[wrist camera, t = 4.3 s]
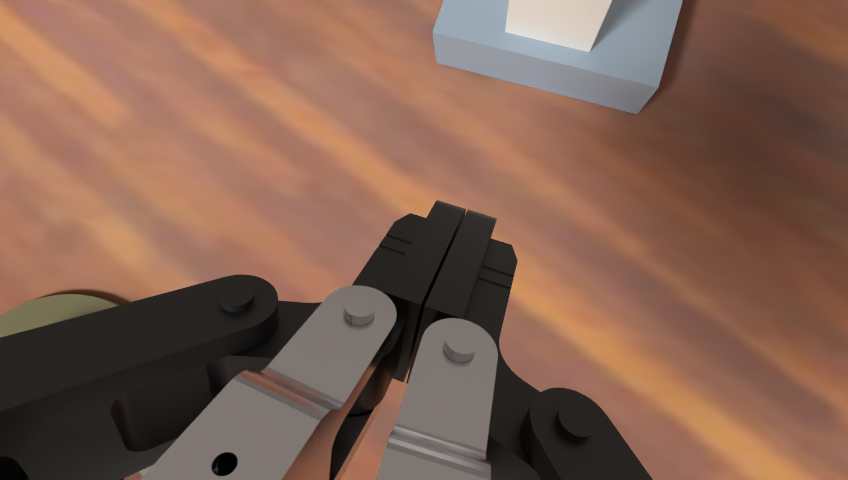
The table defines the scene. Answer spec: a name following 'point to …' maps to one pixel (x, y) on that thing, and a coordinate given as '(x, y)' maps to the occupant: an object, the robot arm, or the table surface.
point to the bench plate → (564, 51)
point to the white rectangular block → (558, 21)
